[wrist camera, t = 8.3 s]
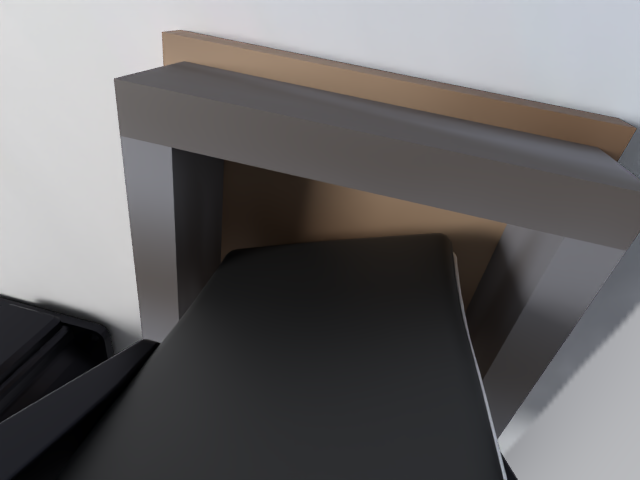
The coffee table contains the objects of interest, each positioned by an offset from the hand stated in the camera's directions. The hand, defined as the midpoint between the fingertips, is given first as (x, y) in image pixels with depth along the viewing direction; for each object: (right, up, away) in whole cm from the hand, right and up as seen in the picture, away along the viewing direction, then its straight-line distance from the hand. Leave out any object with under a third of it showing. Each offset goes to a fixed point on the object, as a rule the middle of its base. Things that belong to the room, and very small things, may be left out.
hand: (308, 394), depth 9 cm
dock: (+1, +3, +5) cm, 6 cm away
